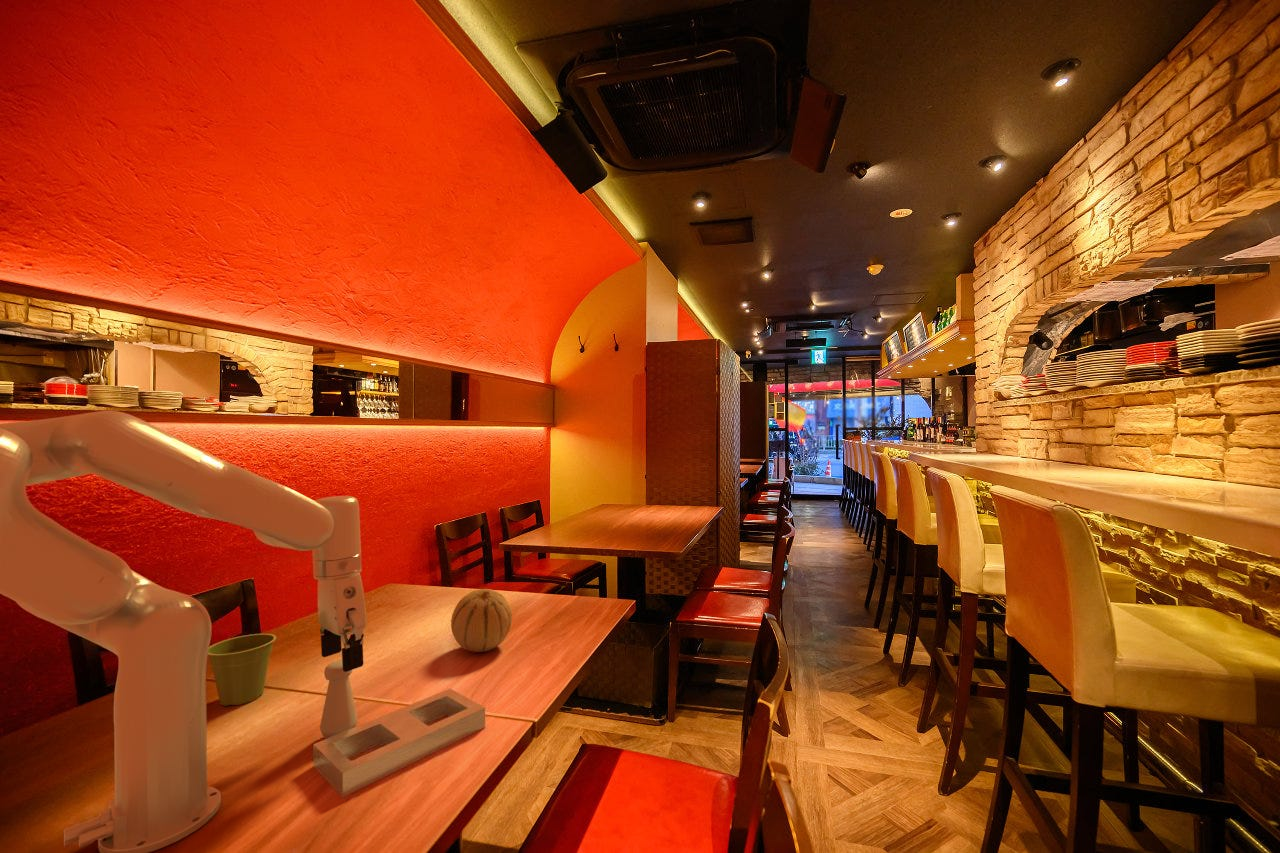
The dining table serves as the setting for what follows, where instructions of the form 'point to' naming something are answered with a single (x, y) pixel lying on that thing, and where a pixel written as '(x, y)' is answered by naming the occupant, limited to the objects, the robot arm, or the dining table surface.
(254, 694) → the plant pot
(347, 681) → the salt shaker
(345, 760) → the beige compartment tray
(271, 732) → the dining table surface
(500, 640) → the cantaloupe
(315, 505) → the robot arm
